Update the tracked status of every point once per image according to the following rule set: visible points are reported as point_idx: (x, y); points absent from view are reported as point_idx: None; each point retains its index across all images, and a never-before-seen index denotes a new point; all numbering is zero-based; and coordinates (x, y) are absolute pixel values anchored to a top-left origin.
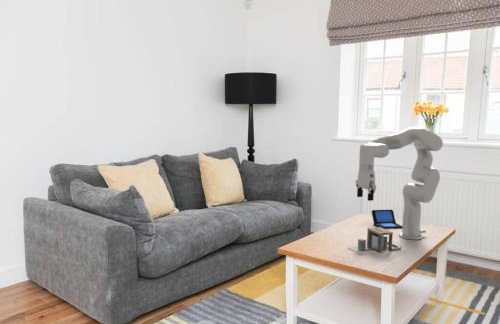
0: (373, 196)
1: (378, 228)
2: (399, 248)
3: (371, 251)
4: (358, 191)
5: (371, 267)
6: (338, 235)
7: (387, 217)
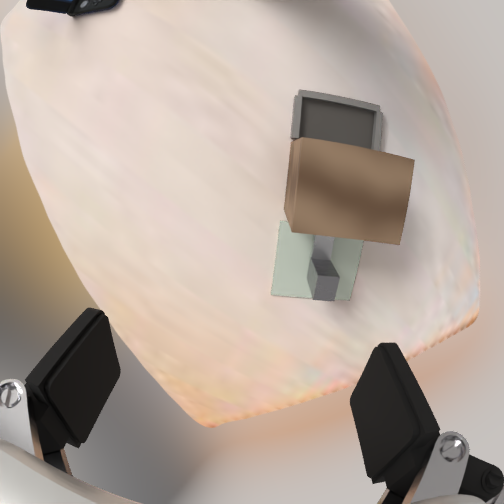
0: (416, 381)
1: (324, 171)
2: (381, 117)
3: (347, 242)
4: (88, 427)
5: (425, 330)
6: (115, 224)
7: None
